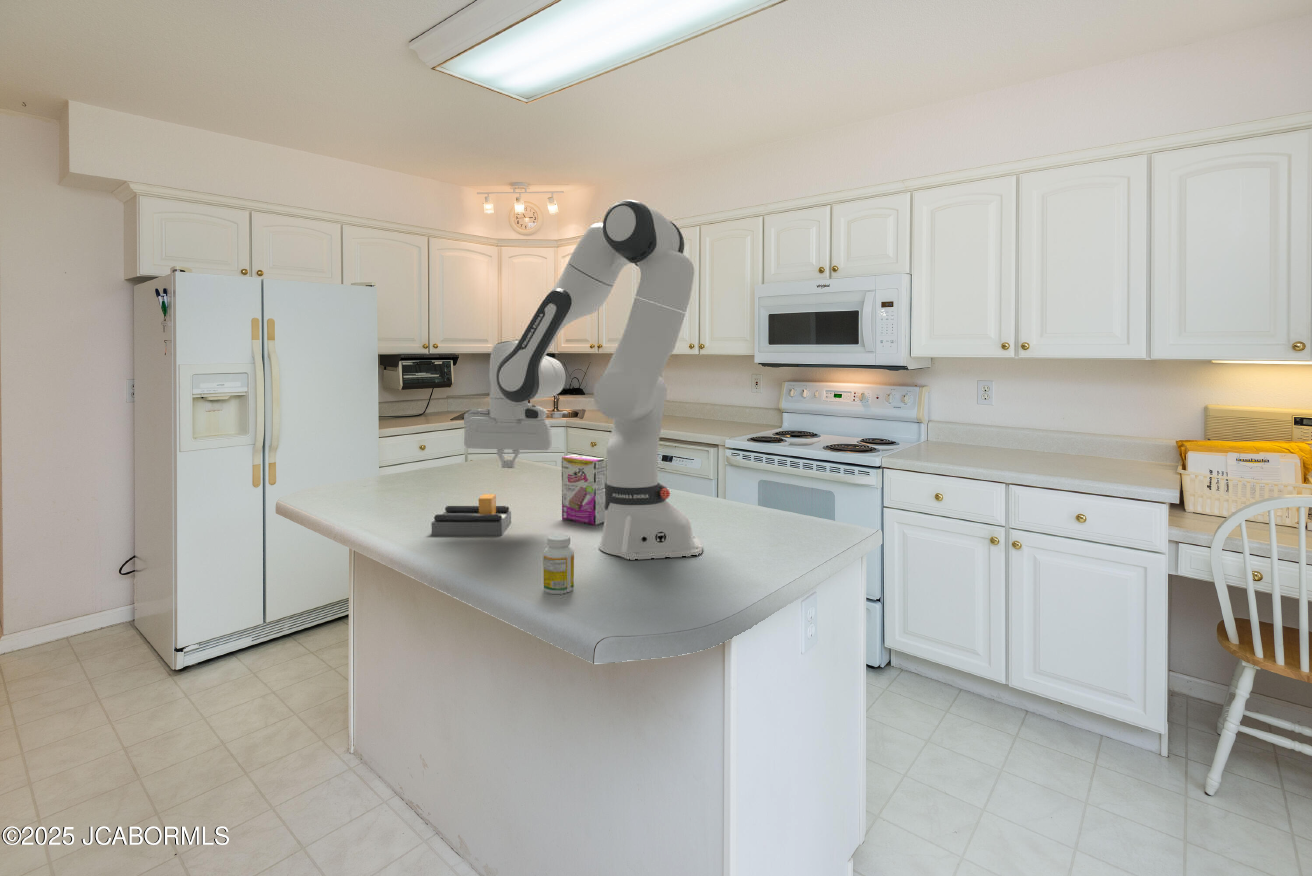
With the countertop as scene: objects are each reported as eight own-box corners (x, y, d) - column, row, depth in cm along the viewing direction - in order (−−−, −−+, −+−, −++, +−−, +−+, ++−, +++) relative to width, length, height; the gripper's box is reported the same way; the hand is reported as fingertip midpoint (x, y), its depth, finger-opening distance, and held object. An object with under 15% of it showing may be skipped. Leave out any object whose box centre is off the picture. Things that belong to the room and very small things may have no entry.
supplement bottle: (557, 597, 109) (556, 542, 108) (537, 590, 113) (536, 537, 112) (580, 589, 114) (580, 536, 112) (560, 582, 117) (560, 531, 116)
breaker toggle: (496, 512, 156) (495, 494, 156) (491, 517, 151) (491, 498, 151) (483, 512, 156) (483, 494, 155) (478, 517, 151) (478, 498, 151)
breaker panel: (511, 522, 160) (511, 504, 160) (501, 535, 148) (501, 516, 148) (446, 522, 159) (445, 504, 159) (431, 535, 148) (431, 516, 147)
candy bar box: (560, 519, 164) (560, 456, 162) (573, 516, 168) (573, 454, 166) (595, 526, 158) (595, 460, 156) (607, 522, 162) (607, 457, 160)
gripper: (460, 409, 147) (460, 469, 149) (549, 412, 148) (549, 471, 150) (467, 407, 154) (467, 464, 155) (553, 410, 155) (552, 466, 156)
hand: (508, 467), depth 153 cm, fingers closed
